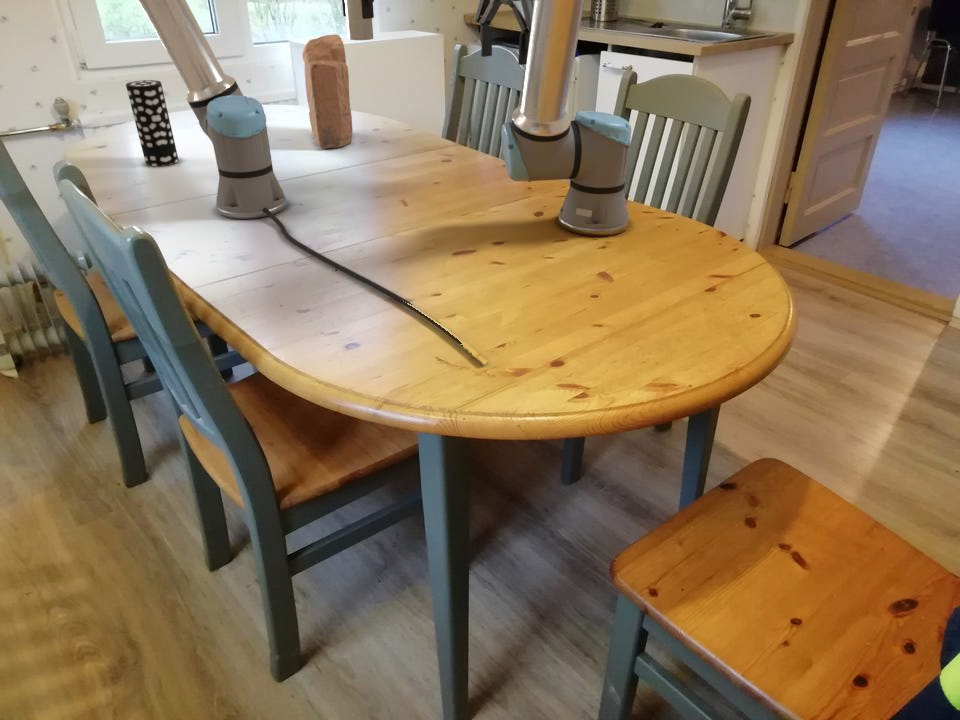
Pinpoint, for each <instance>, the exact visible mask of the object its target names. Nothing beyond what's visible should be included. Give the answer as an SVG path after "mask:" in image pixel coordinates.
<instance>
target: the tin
mask: <svg viewBox="0 0 960 720" xmlns="http://www.w3.org/2000/svg"><path fill="white" fill-rule="evenodd" d="M345 7H346V17H345V18H346V19H345V20H346V26H347V39H348V40H350V41H370V40H373V39H374V31H373V30H374V28H373V26H374V25H373V18H369V19H363V9H362V0H345Z"/></svg>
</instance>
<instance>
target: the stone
mask: <svg viewBox="0 0 960 720" xmlns="http://www.w3.org/2000/svg"><path fill="white" fill-rule="evenodd" d="M302 60H303V62H304V82H305V83H304V85H305V92H306V100H307V105H308V110H309V112H308V116H309V123H310V127H311V131H312V135H313V137H314V140H315V142H316V145H317V146H318V147H319V148H320V149H333V148H341V147H344V146H347V145H349V144H351V143H352V138H353V133H354V131H353V117H352V116H353V115H352V110H351V100H350V79H349V78H350V75H349V67H348V65H347V61H346V60H347V58H346V49H345V44H344V40H342V37H341V36H340V34H326V35H323V36H319V37H317V38H312V39H310V40H308V42H307V43H306V44H305V46H304V48H303V51H302Z"/></svg>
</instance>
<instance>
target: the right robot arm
mask: <svg viewBox="0 0 960 720" xmlns="http://www.w3.org/2000/svg"><path fill="white" fill-rule="evenodd" d="M585 1H586V0H479V3H478V5H477V9H476V12H475V15H474V23H476V24H478V25H479V27H480V41H481V47H480V48H481V51H480V52H481V55H480V56H481V57H482V58H483V57H492V55H493V24H492V21H493V20H494V18H495V16H496V15H497V13H498V11H499V9H500V7H501V5H506V6H509V7H510V8H511V9H512V12H513V14H514V17H515V18H516V21H517V24H518V25H519V28H520V30H521V31H520V33H519V38H518V39H519V41H518V43H519V45H518V63H517V64H518V66H519V65H520V66H523V65H526V66H525V74H524V80H523V81H524V82H523V89H522V97H521V104H520V105H519V106H517V107H516V108H515V109H514V110H513V112H512V115H511V117H512V118H511V121H507V122H504V123H503V124H502V126H501V130H500V131H501V133H500V134H501V135H500V136H501V149H502V156H503V161H504V166H505V170H506V173H507V176H508V177H509V179H511V180H512V181H514V182H528V183H531V182H539V181H559V180H560V181H561V180H569V188H568V191H567V192H566V195H565V198H564V200H563V203H562V206H561V208H560V210H559V213H558V224H559V225H560V227H562V228H563V229H565V230H566V231H569V232H571V233H575V234H578V235H583V236H589V237H591V236H592V237H607V236H613V235H618V234H620V233H621V234H622V233H623V232H625V231H626V230H627V229H628V227H629V223H630V222H629V221H630V215H629V212H628V208H627V201H626V200H627V199H628V198H629V197H630V195H629V194H628V193H626V194H625V187H626V186H625V185H626V178H627V171H628V164H629V156H630V151H631V150H630V149H631V146H632V141H631V139H632V126H631V123H630V122H629V121H628V120H627V119H625V118H623V117H621V116H618V115H615V114H611V113H607V112H604V111H603V112H602V111H598V110H597V111H596V110H580V111H577V112H576V113H575V115H574V120H571V116H570V114H569V113H568V112H567V111H566V108H567V102H568V97H569V91H570V85H571V80H572V74H573V68H574V64H575V57H576V53H577V47H578V40H579V34H580V31H581V30H580V29H581V23H582V18H583V12H584V8H585Z"/></svg>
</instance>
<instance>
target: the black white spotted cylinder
mask: <svg viewBox="0 0 960 720" xmlns="http://www.w3.org/2000/svg"><path fill="white" fill-rule="evenodd" d="M125 87H126V91H127V95H128V99H129V103H130V107H131V110H132V115H133V118H134V122H135V123H134V124H135V127H136V130H137V134H138V139H139V143H140V146H141V150H142V155H143V158H144V163H145V164H146V165H147V166H151V167H164V166H170V165H174V164H176V163H178V162H179V155H178V150H177V146H176V142H175V137H174V133H173V128H172V125H171V121H170V116H169V111H168V107H167V103H166V98H165V93H164V89H163V84H162V81H161V80H155V79H154V80H153V79H151V80H150V79H145V80H144V79H141V80H134V81H130V82H129V81H128V82H127V83H126V84H125Z"/></svg>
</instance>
